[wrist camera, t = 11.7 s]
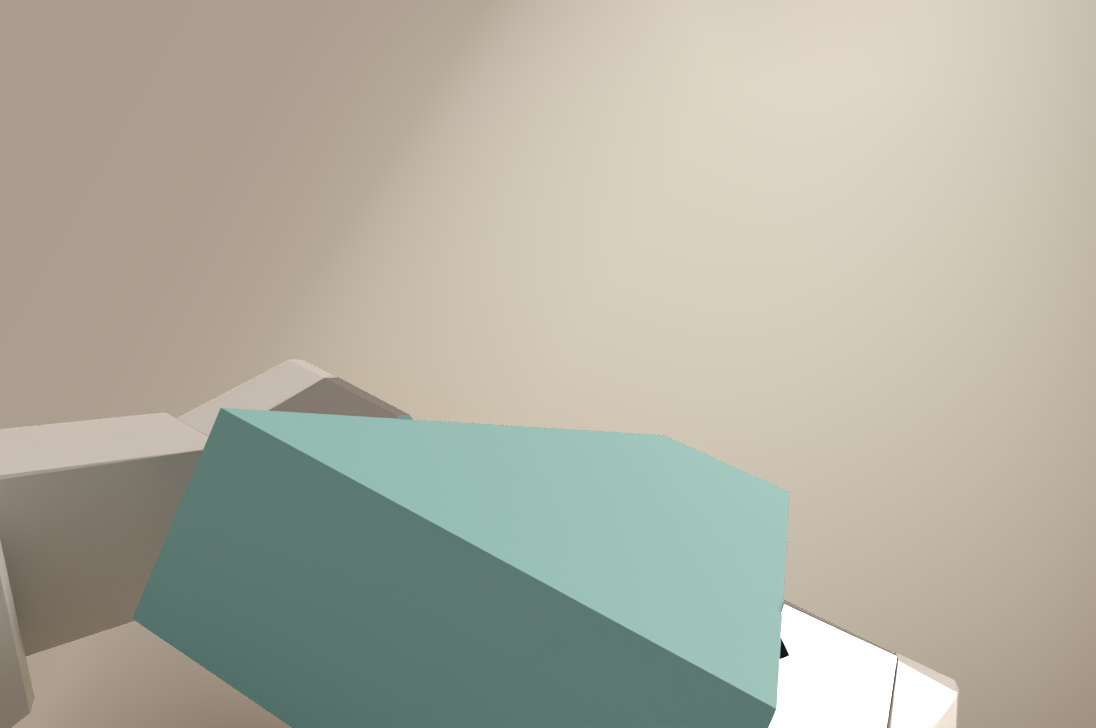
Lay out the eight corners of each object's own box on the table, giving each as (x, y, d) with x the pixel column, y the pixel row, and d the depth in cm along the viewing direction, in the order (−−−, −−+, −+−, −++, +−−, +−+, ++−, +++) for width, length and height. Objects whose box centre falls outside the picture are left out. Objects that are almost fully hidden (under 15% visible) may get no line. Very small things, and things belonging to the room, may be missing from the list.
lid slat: (656, 976, 4) (775, 709, 4) (132, 617, 6) (221, 407, 6) (767, 542, 23) (790, 492, 23) (644, 482, 25) (664, 435, 25)
